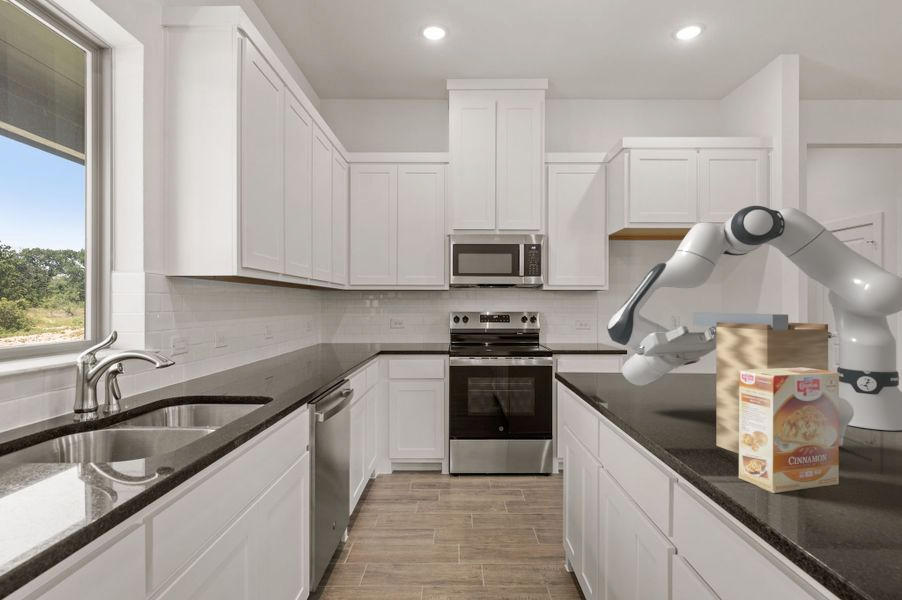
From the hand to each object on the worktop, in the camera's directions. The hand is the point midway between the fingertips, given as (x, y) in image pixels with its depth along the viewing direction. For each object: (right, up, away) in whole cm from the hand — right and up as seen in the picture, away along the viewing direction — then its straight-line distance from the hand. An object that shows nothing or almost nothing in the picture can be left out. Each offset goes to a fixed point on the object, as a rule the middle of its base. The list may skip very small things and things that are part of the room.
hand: (701, 328), depth 110 cm
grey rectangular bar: (+2, +1, -9) cm, 10 cm away
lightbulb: (+24, -25, -9) cm, 36 cm away
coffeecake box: (0, -25, -29) cm, 38 cm away
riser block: (+8, -25, -12) cm, 29 cm away
